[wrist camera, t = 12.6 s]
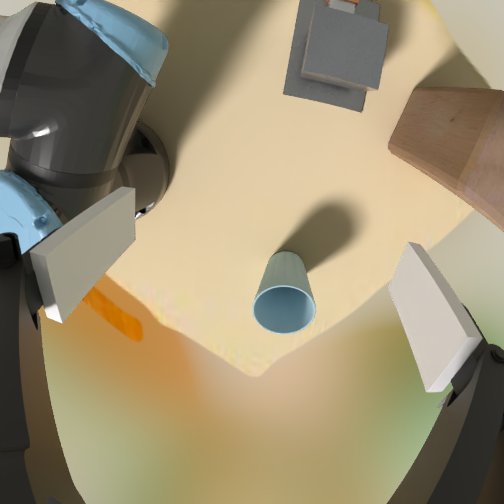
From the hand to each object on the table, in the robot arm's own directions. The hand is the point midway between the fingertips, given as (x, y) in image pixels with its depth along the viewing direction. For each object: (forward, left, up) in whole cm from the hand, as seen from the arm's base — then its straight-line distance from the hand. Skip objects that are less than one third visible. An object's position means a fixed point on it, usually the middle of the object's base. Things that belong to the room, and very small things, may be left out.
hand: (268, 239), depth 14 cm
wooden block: (+19, +7, -27) cm, 34 cm away
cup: (+4, -17, -27) cm, 32 cm away
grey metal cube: (+4, +13, -23) cm, 27 cm away
